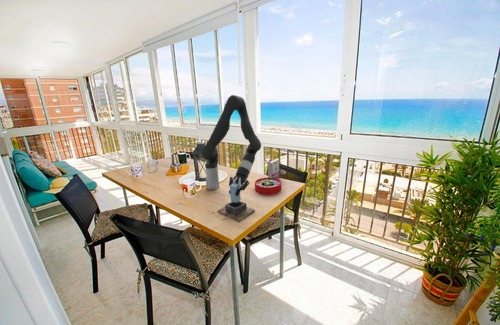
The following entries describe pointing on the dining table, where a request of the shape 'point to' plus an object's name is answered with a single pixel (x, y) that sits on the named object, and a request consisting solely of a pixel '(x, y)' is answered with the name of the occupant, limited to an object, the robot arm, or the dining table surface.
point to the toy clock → (268, 186)
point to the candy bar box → (273, 168)
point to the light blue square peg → (232, 191)
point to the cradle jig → (236, 210)
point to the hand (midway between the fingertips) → (233, 194)
